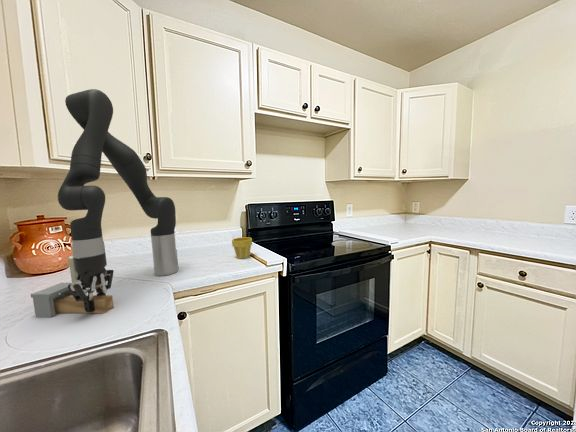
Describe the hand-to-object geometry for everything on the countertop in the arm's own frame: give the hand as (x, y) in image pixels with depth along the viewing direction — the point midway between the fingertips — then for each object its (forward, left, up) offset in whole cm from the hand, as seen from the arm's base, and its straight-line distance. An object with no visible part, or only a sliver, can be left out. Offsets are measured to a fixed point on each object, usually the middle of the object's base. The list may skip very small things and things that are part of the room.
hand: (96, 308), depth 75 cm
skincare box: (-19, -23, -1) cm, 30 cm away
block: (-1, -15, -1) cm, 15 cm away
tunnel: (0, -13, -1) cm, 13 cm away
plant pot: (-58, +30, -1) cm, 65 cm away
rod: (0, -4, -1) cm, 4 cm away
